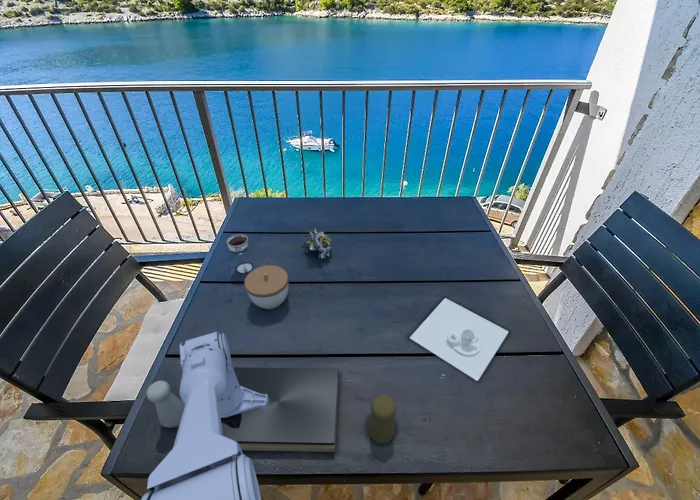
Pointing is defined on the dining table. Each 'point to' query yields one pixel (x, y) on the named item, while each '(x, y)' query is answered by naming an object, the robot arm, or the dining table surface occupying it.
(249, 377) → the panel
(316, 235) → the passion flower
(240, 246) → the wineglass
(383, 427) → the olive peanut shape
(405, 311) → the dining table surface
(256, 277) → the lidded bowl
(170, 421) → the salt shaker
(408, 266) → the dining table surface
